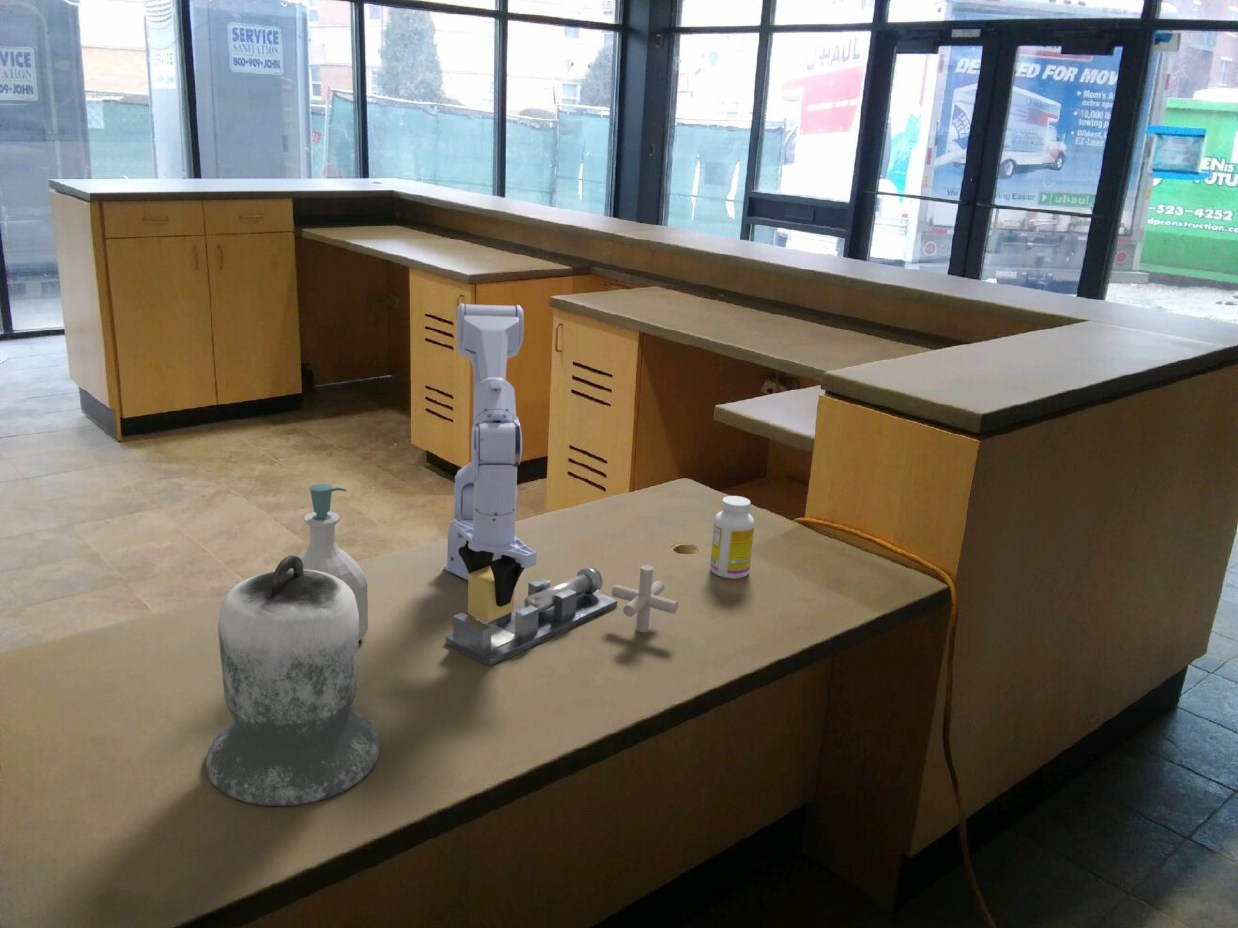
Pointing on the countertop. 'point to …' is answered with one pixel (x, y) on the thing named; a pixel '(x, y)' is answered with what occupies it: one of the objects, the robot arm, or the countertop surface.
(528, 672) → the countertop surface
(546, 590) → the shaft
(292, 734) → the bell
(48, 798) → the countertop surface
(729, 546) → the supplement bottle
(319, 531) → the soap bottle
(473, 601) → the block
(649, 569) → the white crossed rods piece
